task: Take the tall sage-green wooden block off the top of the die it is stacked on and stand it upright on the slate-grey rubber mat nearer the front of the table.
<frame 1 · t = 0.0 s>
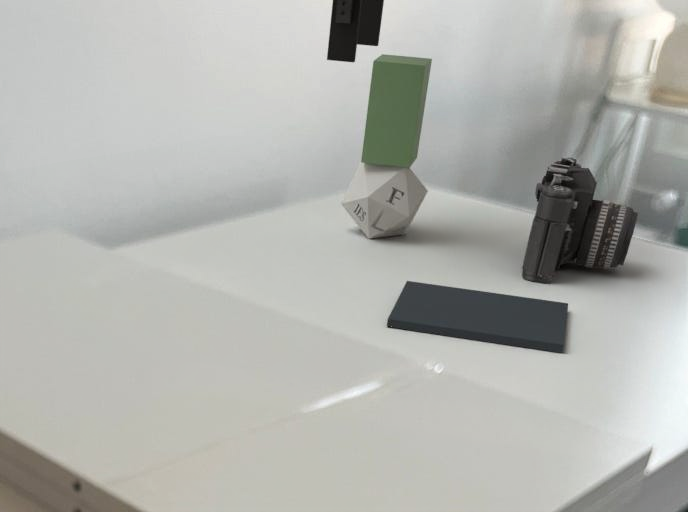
hand: (353, 52, 108), 19 cm above the table, tool pointing down, fingers open, 13 cm apart
mat: (479, 318, 99), on the table
die: (379, 234, 121), on the table, touching green block
camera: (569, 269, 114), on the table
green block: (389, 160, 117), point 8 cm above the table, touching die
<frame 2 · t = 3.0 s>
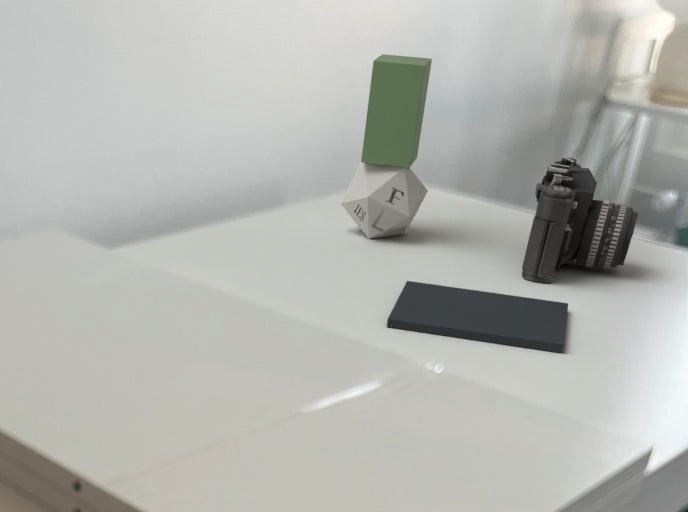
nothing on the table moved.
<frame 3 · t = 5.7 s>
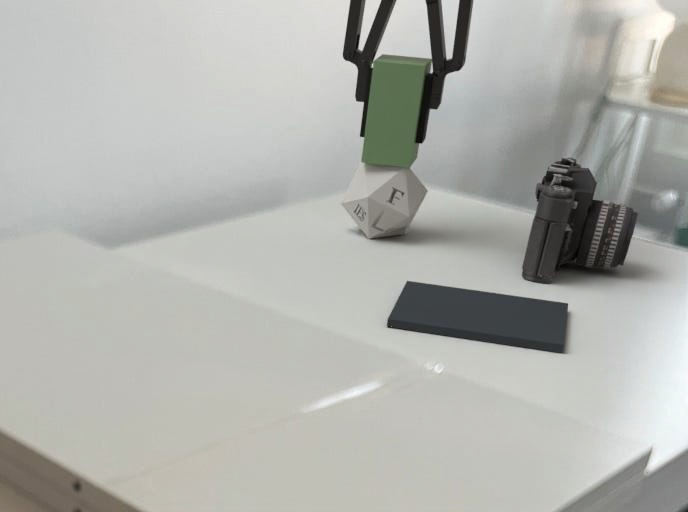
hand: (392, 137, 115), 10 cm above the table, tool pointing down, fingers closed on green block, 5 cm apart
green block: (389, 160, 116), point 8 cm above the table, touching die, gripper
everything else where it was.
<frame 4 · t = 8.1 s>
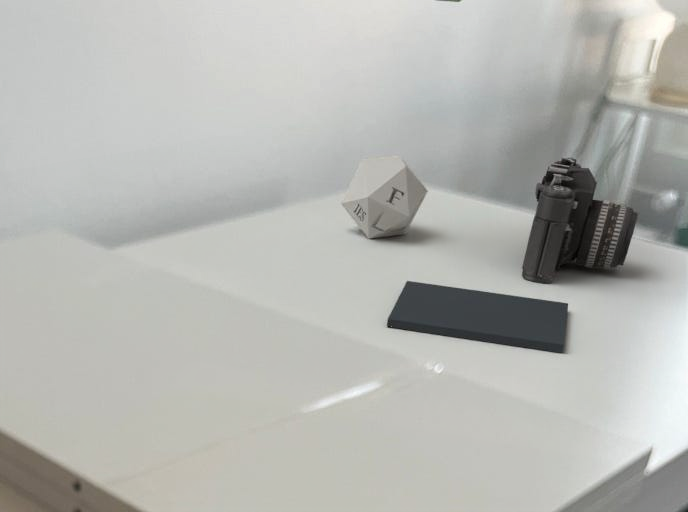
die: (379, 234, 121), on the table
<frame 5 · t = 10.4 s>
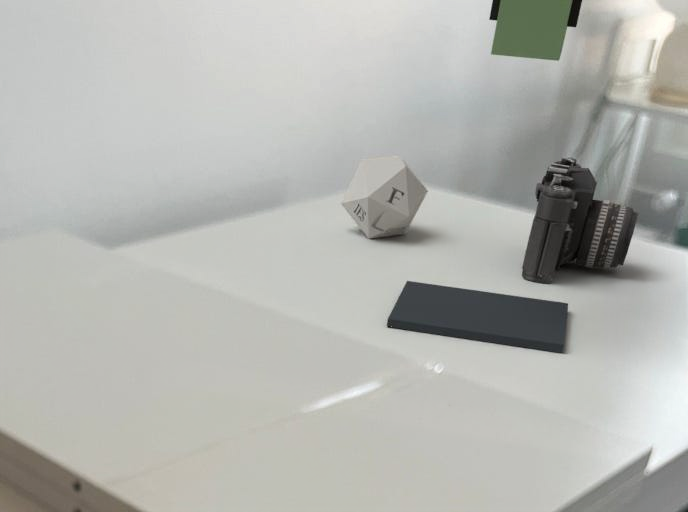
hand: (533, 21, 85), 25 cm above the table, tool pointing down, fingers closed on green block, 5 cm apart
green block: (526, 53, 86), point 22 cm above the table, touching gripper
everything else where it was.
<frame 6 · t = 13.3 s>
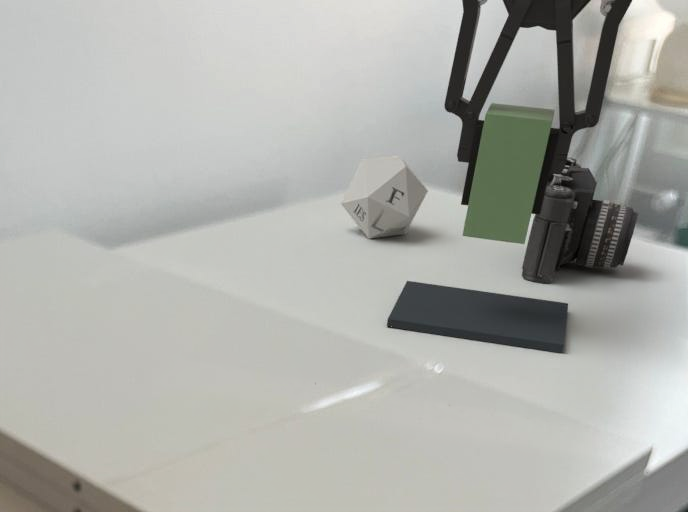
hand: (501, 205, 93), 10 cm above the table, tool pointing down, fingers closed on green block, 5 cm apart
green block: (495, 232, 94), point 8 cm above the table, touching gripper
everything else where it was.
when the fingers open (3 cm above the table, at t = 15.3 s): green block stays where it is, resting on mat.
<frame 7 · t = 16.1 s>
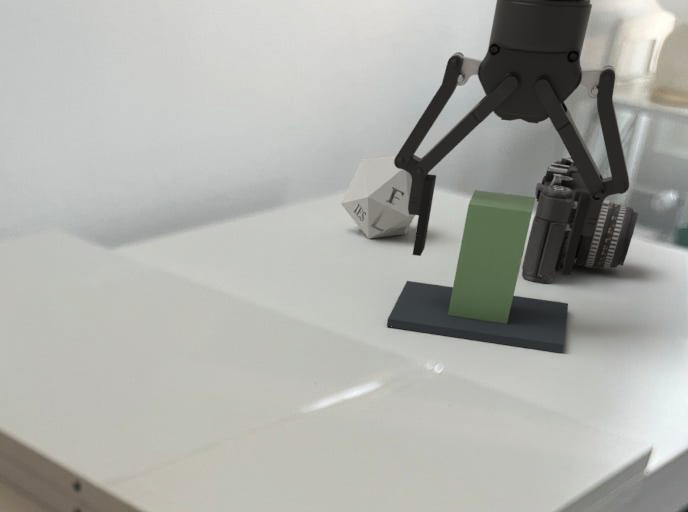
hand: (491, 261, 96), 5 cm above the table, tool pointing down, fingers open, 13 cm apart
green block: (480, 310, 99), point 1 cm above the table, touching mat
everything else where it was.
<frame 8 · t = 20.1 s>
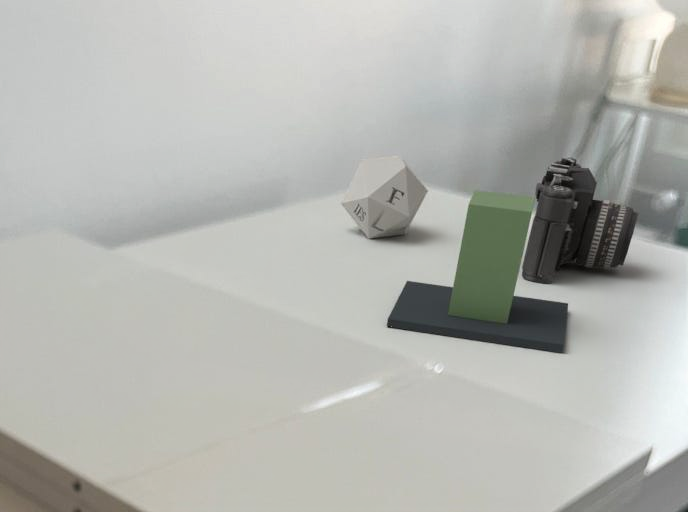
nothing on the table moved.
at the end: green block inside the target area on the mat (0.1 cm from its centre), point 0.8 cm above the mat's base; green block tilted 0°; die moved 0.2 cm from its start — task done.
